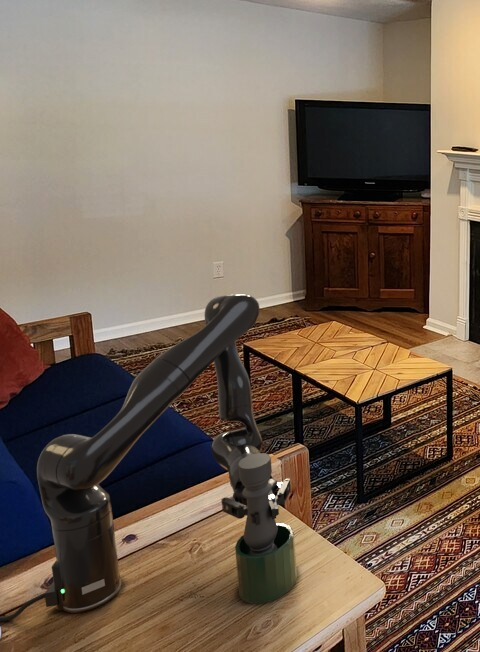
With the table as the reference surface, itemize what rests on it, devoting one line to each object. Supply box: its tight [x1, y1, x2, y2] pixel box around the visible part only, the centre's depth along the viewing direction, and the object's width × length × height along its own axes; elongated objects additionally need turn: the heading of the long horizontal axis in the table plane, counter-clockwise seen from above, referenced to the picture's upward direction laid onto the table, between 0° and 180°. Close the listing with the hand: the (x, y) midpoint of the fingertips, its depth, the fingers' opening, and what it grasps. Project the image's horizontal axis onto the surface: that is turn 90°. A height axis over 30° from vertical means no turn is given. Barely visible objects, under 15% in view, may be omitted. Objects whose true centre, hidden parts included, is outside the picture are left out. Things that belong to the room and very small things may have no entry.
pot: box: [234, 522, 298, 605], centre depth 125 cm, size 11×11×10 cm
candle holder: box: [238, 452, 278, 555], centre depth 123 cm, size 6×6×25 cm
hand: (266, 517), depth 121 cm, fingers closed on candle holder, 2 cm apart
